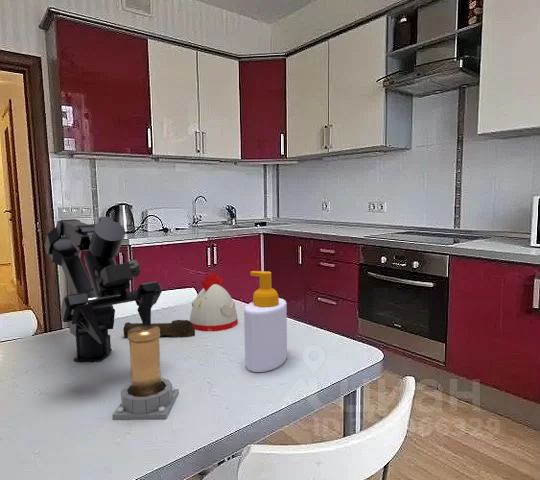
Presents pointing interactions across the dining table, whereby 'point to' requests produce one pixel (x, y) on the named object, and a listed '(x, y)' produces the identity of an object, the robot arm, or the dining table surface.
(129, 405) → the socket
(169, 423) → the dining table surface
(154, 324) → the hand tool
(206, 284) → the kitchen timer
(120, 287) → the robot arm
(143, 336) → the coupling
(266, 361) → the soap bottle
